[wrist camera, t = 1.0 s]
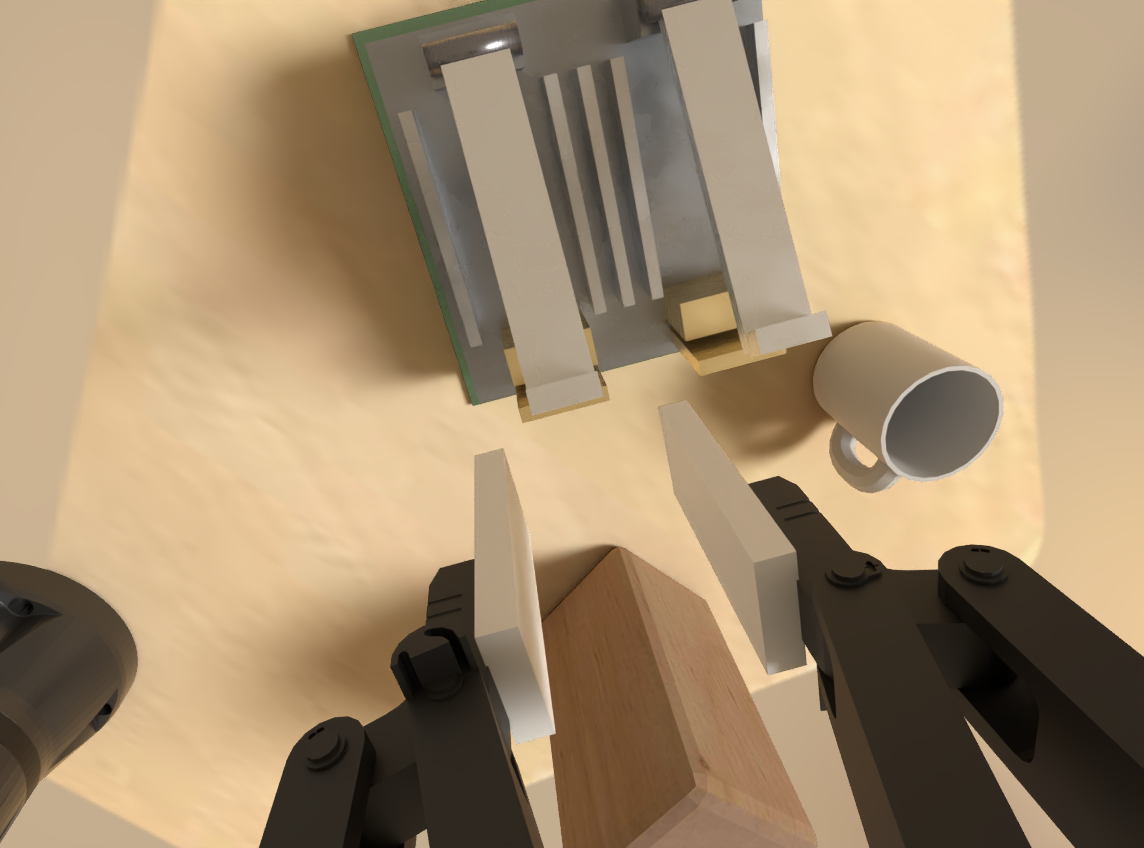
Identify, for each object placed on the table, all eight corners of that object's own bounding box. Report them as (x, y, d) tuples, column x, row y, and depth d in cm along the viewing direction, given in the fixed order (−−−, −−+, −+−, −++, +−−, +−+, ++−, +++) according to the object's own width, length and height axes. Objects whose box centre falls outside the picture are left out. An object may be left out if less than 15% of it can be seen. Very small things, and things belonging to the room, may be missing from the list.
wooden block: (616, 536, 49) (698, 786, 31) (710, 597, 52) (832, 852, 35) (531, 625, 51) (561, 904, 33) (626, 678, 55) (699, 954, 37)
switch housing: (472, 404, 43) (472, 484, 34) (352, 34, 34) (307, 7, 24) (772, 325, 43) (852, 383, 34) (736, -62, 34) (833, -124, 25)
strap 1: (522, 418, 28) (519, 418, 25) (425, 54, 27) (413, 20, 25) (611, 394, 28) (616, 393, 25) (516, 32, 27) (512, -5, 25)
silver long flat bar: (732, 363, 28) (748, 358, 25) (639, 1, 27) (647, -39, 25) (819, 339, 28) (845, 333, 26) (728, -22, 28) (744, -63, 25)
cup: (931, 337, 45) (1028, 387, 37) (856, 462, 49) (930, 532, 41) (843, 303, 43) (926, 348, 35) (772, 436, 47) (833, 504, 39)
